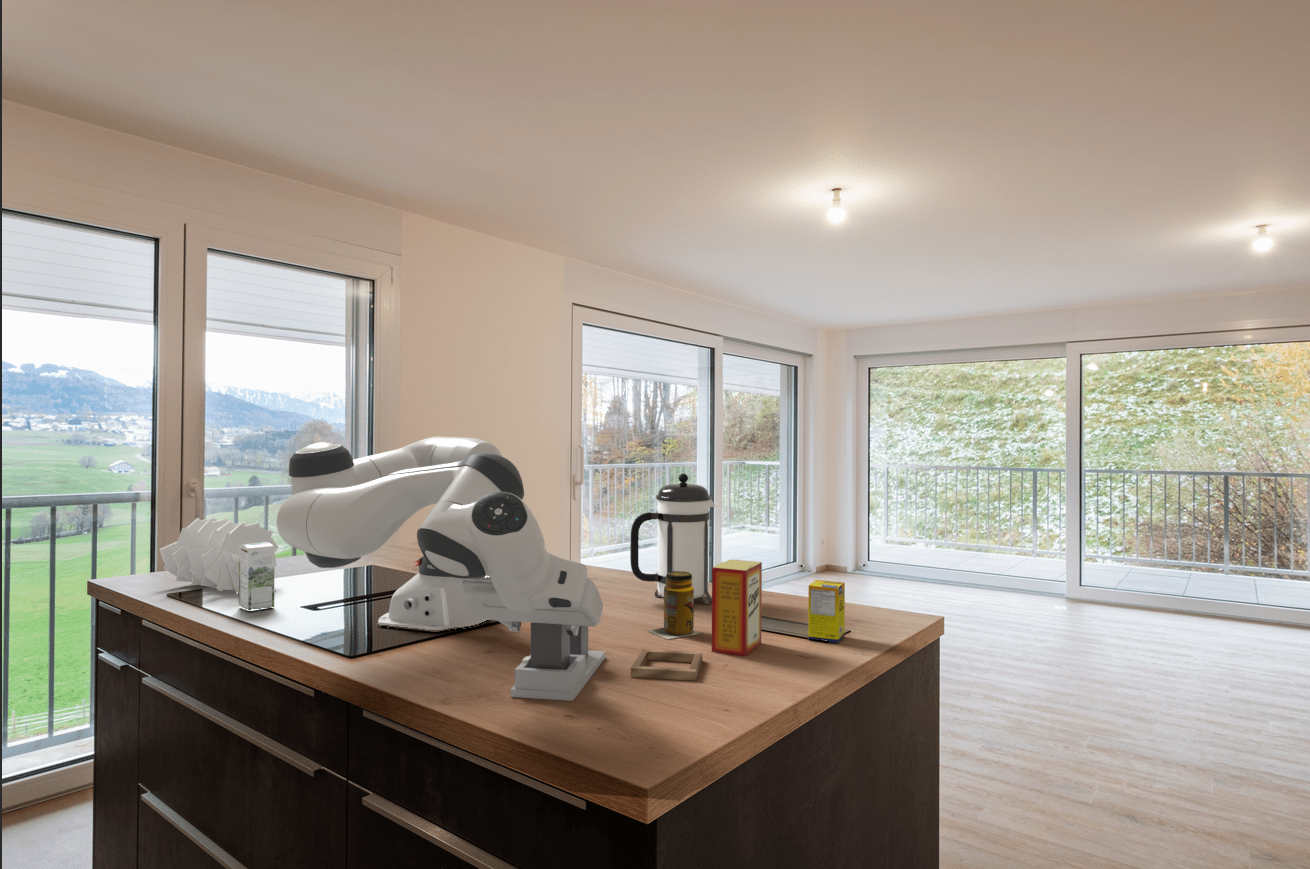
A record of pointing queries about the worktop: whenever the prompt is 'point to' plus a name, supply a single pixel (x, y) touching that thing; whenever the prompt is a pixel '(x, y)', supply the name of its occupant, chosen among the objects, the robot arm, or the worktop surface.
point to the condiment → (678, 606)
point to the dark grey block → (550, 646)
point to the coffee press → (678, 536)
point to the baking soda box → (736, 607)
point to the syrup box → (256, 575)
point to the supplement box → (826, 611)
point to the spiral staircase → (212, 552)
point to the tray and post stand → (559, 673)
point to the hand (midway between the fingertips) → (544, 629)
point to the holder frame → (667, 673)
